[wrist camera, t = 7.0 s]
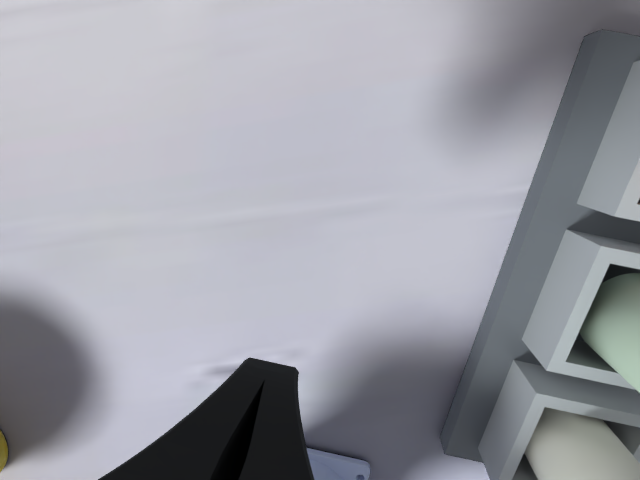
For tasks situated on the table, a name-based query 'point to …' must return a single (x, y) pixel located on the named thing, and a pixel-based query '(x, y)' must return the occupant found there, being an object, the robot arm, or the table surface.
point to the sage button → (616, 325)
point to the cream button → (578, 449)
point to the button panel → (560, 274)
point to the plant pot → (3, 451)
